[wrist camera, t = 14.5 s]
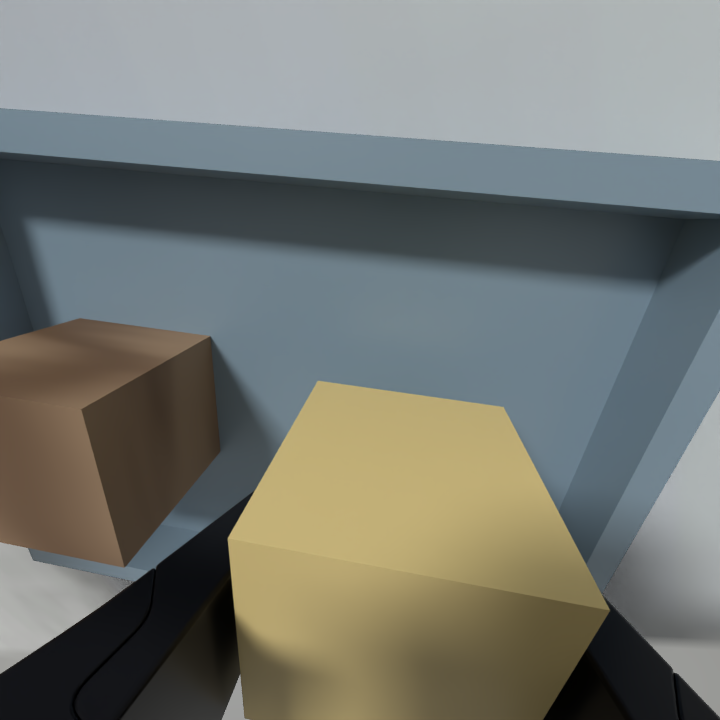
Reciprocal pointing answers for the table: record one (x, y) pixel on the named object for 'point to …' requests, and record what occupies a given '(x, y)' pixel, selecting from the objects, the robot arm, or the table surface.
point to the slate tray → (384, 290)
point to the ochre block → (405, 568)
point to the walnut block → (101, 435)
